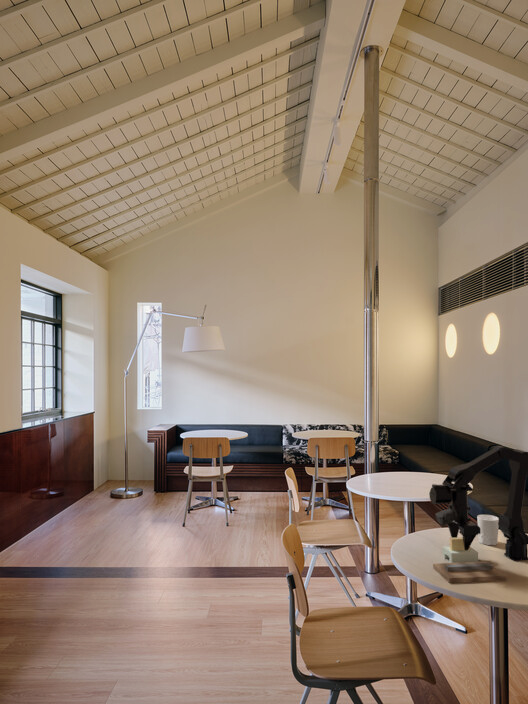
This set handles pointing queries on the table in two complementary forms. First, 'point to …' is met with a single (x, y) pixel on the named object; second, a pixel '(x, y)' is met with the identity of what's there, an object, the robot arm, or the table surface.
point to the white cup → (488, 529)
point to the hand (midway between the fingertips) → (460, 545)
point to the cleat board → (469, 572)
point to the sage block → (459, 552)
